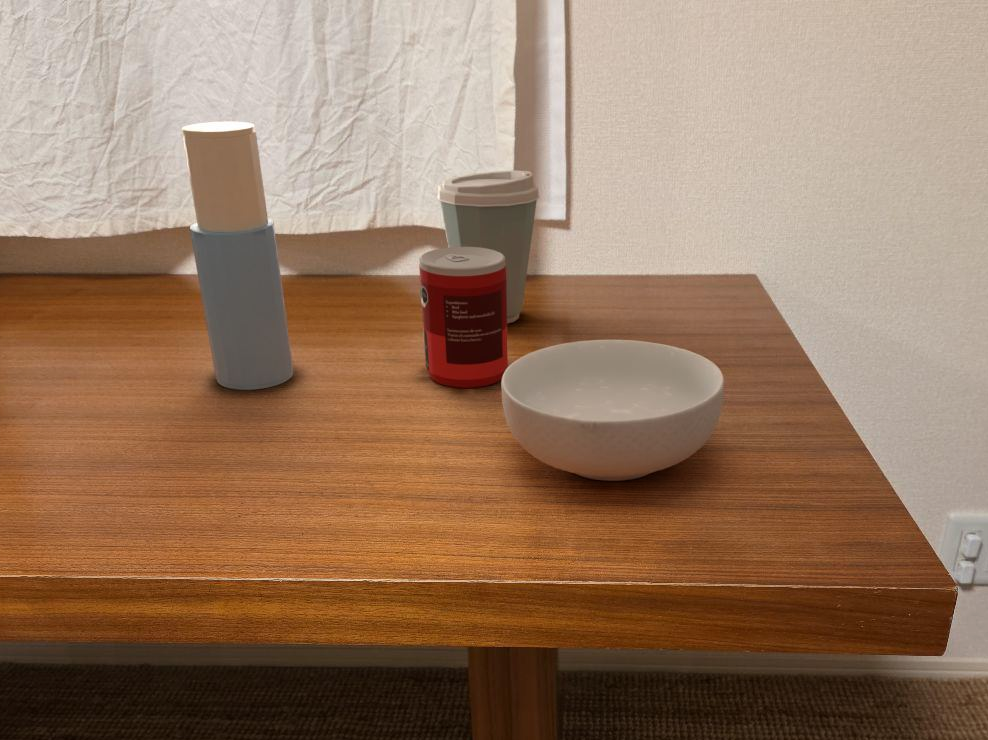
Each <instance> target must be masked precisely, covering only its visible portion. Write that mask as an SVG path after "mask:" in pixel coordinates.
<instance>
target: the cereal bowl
mask: <svg viewBox="0 0 988 740" xmlns="http://www.w3.org/2000/svg"><path fill="white" fill-rule="evenodd" d="M500 381H501V383H500V388H501V401H502V403H501V404H502V410H503V415H504V418H505V423H506V424H507V427H508V430H509V431H510V432H511V434H512V437H513V438H514V439H515V440H516V442H517V444H519V445H520V446H521V448H522V449H524V450H525V452H526V453H528V454H529V455H531V456H532V457H533V458H535V459H537V460H538V461H539V462H541V463H544V464H545V465H547V466H551V467H553V468H555V469H558V470H561V471H563V472H569V473H571V474H575V475H577V476H579V477H583V478H586V479H590V480H595V481H596V480H597V481H605V482H606V481H607V482H609V481H610V482H619V481H628V480H634V479H635V480H636V479H639V478H642V477H645V476H648V475H650V474H652V473H655V472H658V471H662V470H664V469H668V468H671V467H672V466H675V465H678V464H679V463H681V462H683V461H686V459H689V458H690V457H691V456H692V455H694V454H695V453H697V451H699V450H700V449H702V448H703V446H704V445H705V444H706V443H707V441H708V440H709V439H710V438H711V437H712V435H713V433H714V432H715V430H716V427H717V426H718V423H719V420H720V417H721V414H722V410H723V406H724V395H725V394H724V393H725V378H724V374H723V373H722V370H721V369H720V368H719V366H717V364H715V363H714V362H713V361H711V360H710V359H708V358H706V357H705V356H702V355H701V354H698V353H695V352H693V351H691V350H688V349H684V348H681V347H677V346H673V345H668V344H664V343H658V342H652V341H651V342H650V341H643V340H631V339H591V340H580V341H573V342H565V343H559V344H555V345H551V346H547V347H544V348H540V349H538V350H535V351H532V352H529V353H527V354H524V355H523V356H521V357H519V358H518V359H516V360H515V361H513V362H512V363H510V364H509V365H508V368H507V369H506V371H505V372H504V374H503V376H502V379H501V380H500Z"/></svg>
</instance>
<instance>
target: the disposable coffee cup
mask: <svg viewBox="0 0 988 740" xmlns="http://www.w3.org/2000/svg"><path fill="white" fill-rule="evenodd" d="M436 196H437V200H438V201H439V202H440V208H441V214H442V220H443V225H444V230H445V231H444V232H445V236H446V242H447V248H449V247H479V248H486V249H491V250H495V251H497V252H500V253H501V254H503V255H504V256H505V262H506V284H507V324H511V323H514V322H516V321H517V320H518V319H520V314H521V312H522V311H523V306H524V305H523V304H524V297H525V291H526V283H527V277H528V276H527V275H528V268H529V267H528V266H529V260H530V252H531V246H532V245H531V244H532V237H533V231H534V230H533V229H534V223H535V215H536V208H537V201H538V200H539V199H540V196H539V187H538V186H537V185H536V183H534V174H533V173H532V172H531V171H529V170H497V171H496V170H494V171H486V172H485V171H484V172H475V173H469V174H468V173H467V174H462V175H457V176H453V177H449V178H447V179H444V180H442V184H439V186H437V195H436Z"/></svg>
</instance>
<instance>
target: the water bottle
mask: <svg viewBox="0 0 988 740" xmlns="http://www.w3.org/2000/svg"><path fill="white" fill-rule="evenodd" d="M189 233H190V239H191V244H192V250H193V256H194V261H195V267H196V268H195V269H196V272H197V273H196V274H197V279H198V283H199V291H200V296H201V301H202V307H203V312H204V318H205V325H206V330H207V335H208V336H207V337H208V341H209V348H210V352H211V360H212V364H213V369H214V375H215V378H216V382H217V383H218V384H219V385H220V386H222V387H223V388H226V389H231V390H240V391H241V390H242V391H252V390H261V389H267V388H272V387H276V386H278V385H281V384H284V383H285V382H287V381H289V380H290V379H292V377H293V375H294V365H293V364H294V363H293V356H292V349H291V342H290V335H289V327H288V319H287V312H286V311H287V310H286V304H285V298H284V297H285V296H284V289H283V281H282V275H281V268H280V259H279V253H278V245H277V238H276V237H277V236H276V230H275V222H274V221H273V220H272V219H270V218H269V217H268V224H266V225H265V226H263V227H261V228H257V229H253V230H248V231H239V232H210V231H205V230H200V228H199V227H198V224H197V222H194V223H192V224H191V225H190V227H189Z"/></svg>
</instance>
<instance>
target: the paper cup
mask: <svg viewBox="0 0 988 740" xmlns="http://www.w3.org/2000/svg"><path fill="white" fill-rule="evenodd" d="M181 133H182V134H181V136H182V137H181V138H182V141H183V148H184V154H185V160H186V165H187V172H188V177H189V182H190V190H191V195H192V200H193V204H194V205H193V206H194V212H195V218H196V223H197V224H198V227H199V228H200V230H205V231H210V232H239V231H248V230H253V229H257V228H261V227H263V226H265V225H266V224H268V218H269V217H268V210H267V202H266V196H265V188H264V181H263V174H262V167H261V166H262V165H261V161H260V151H259V145H258V138H257V132H256V129H255V125H254V123H250V122H246V121H245V122H244V121H210V122H209V121H208V122H200V123H193V124H188V125H184V126H183V127H182V128H181Z"/></svg>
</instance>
